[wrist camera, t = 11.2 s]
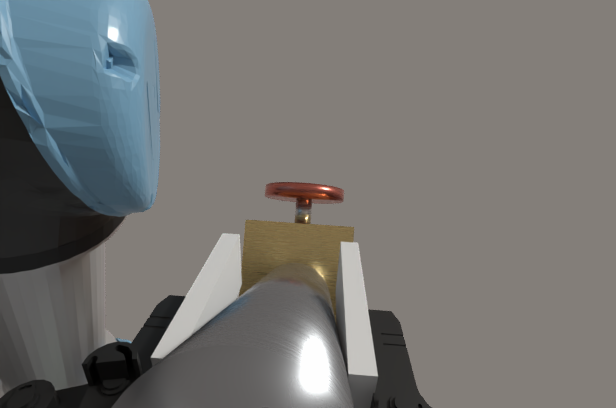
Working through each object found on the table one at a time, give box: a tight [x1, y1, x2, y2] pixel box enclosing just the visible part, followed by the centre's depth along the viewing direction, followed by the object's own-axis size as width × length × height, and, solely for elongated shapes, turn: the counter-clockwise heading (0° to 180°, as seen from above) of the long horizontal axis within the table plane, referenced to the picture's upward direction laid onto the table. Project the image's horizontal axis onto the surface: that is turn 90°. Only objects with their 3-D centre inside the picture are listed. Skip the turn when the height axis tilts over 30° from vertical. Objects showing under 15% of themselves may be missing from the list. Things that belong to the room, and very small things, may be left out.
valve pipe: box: [112, 182, 354, 408], centre depth 17 cm, size 24×7×10 cm, turn 179°
